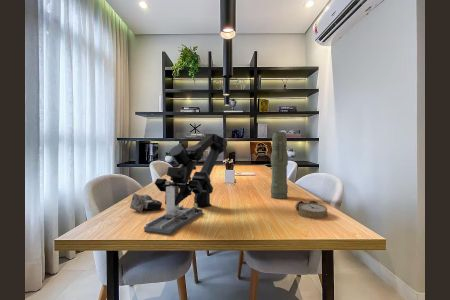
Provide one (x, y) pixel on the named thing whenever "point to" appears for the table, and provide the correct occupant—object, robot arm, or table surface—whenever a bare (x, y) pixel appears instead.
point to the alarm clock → (311, 210)
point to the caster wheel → (144, 203)
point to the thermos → (279, 166)
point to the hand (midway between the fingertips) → (170, 204)
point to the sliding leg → (172, 202)
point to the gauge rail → (172, 221)
